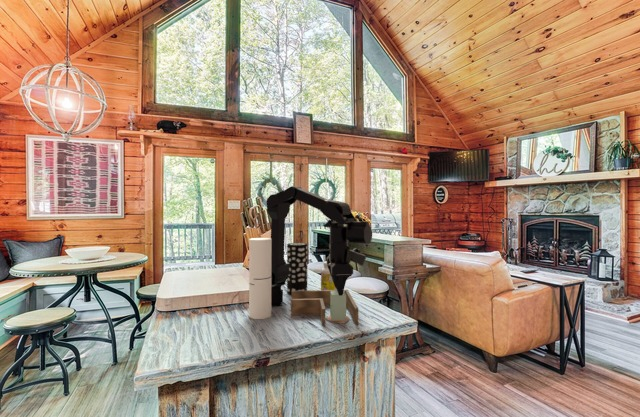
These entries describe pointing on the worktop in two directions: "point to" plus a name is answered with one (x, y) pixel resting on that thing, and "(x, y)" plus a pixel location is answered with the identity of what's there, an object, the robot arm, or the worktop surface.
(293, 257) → the white-spotted black cylinder
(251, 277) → the cylindrical container
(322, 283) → the supplement bottle
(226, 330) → the worktop surface
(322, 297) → the channel
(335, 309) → the block
